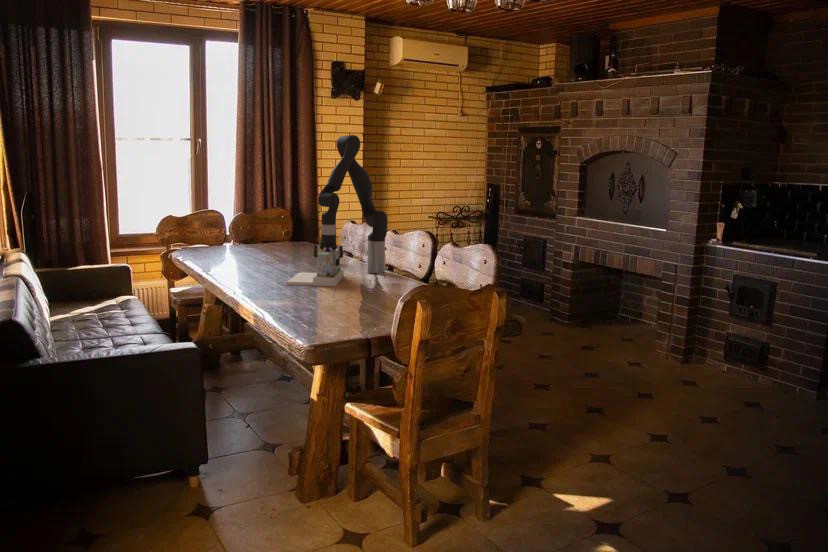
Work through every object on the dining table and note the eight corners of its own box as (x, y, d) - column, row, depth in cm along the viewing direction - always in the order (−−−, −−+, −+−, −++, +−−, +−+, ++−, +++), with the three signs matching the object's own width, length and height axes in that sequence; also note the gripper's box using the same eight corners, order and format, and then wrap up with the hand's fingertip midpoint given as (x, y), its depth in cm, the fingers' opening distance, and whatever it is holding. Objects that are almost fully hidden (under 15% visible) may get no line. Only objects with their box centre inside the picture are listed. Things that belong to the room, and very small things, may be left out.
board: (322, 275, 359) (322, 273, 359) (311, 285, 334) (311, 282, 334) (299, 275, 360) (299, 272, 360) (287, 284, 335) (286, 281, 334)
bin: (343, 276, 359) (343, 268, 358) (335, 286, 333) (335, 278, 332) (323, 275, 359) (323, 268, 359) (313, 285, 334) (313, 277, 333)
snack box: (327, 285, 336) (327, 254, 333) (316, 284, 337) (316, 253, 334) (340, 277, 356) (340, 248, 353) (330, 277, 357) (330, 247, 354)
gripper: (344, 233, 345) (344, 265, 348) (315, 232, 346) (315, 264, 349) (341, 234, 338) (341, 267, 341) (312, 233, 339) (312, 266, 342)
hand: (328, 265), depth 345 cm, fingers open, 8 cm apart
